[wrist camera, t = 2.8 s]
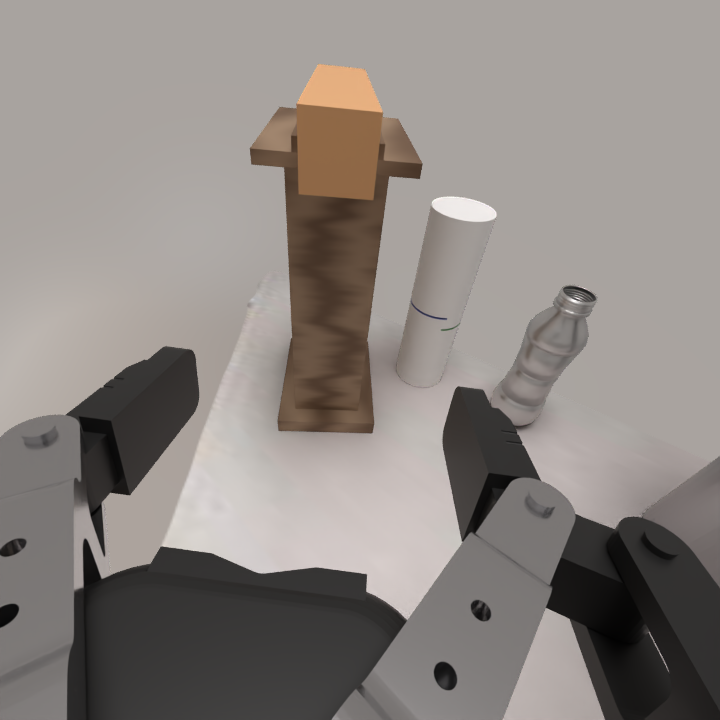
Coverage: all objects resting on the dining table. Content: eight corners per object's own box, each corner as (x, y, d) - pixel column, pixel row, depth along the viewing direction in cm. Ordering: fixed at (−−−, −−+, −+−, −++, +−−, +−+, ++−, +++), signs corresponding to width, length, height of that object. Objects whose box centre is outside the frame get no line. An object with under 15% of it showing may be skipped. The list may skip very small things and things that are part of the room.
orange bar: (360, 123, 34) (364, 69, 32) (373, 200, 20) (382, 112, 17) (317, 118, 34) (318, 64, 31) (298, 194, 20) (296, 103, 17)
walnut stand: (366, 351, 59) (399, 107, 37) (372, 433, 48) (425, 148, 25) (291, 347, 58) (279, 94, 36) (278, 430, 47) (248, 131, 24)
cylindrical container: (396, 352, 60) (429, 193, 43) (439, 357, 60) (490, 200, 43) (396, 384, 54) (434, 217, 38) (443, 390, 55) (503, 225, 38)
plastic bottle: (477, 400, 54) (534, 280, 40) (517, 393, 55) (583, 275, 42) (502, 436, 49) (574, 314, 36) (543, 427, 51) (627, 308, 37)
